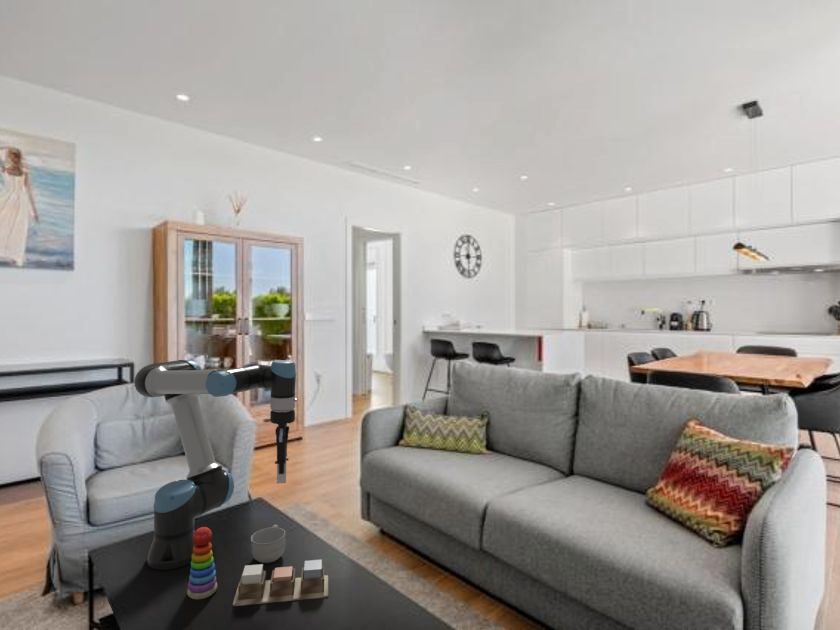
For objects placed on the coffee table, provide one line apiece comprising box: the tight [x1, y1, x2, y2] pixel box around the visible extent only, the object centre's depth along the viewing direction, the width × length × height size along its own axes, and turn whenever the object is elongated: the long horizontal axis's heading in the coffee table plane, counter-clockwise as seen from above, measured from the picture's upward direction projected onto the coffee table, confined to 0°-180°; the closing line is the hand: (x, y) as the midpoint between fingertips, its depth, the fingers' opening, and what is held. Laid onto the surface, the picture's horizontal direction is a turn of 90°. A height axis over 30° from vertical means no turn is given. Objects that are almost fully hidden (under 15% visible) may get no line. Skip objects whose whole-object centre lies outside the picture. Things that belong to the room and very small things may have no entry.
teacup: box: [250, 524, 286, 564], centre depth 156 cm, size 14×11×8 cm
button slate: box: [303, 559, 323, 579], centre depth 140 cm, size 5×5×4 cm
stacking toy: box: [186, 526, 218, 600], centre depth 136 cm, size 8×8×19 cm
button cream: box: [241, 563, 264, 585], centre depth 136 cm, size 5×5×4 cm
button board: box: [232, 565, 329, 607], centre depth 138 cm, size 26×10×4 cm, turn 101°
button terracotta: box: [273, 565, 294, 582], centre depth 138 cm, size 5×5×4 cm
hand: (281, 482), depth 151 cm, fingers closed
